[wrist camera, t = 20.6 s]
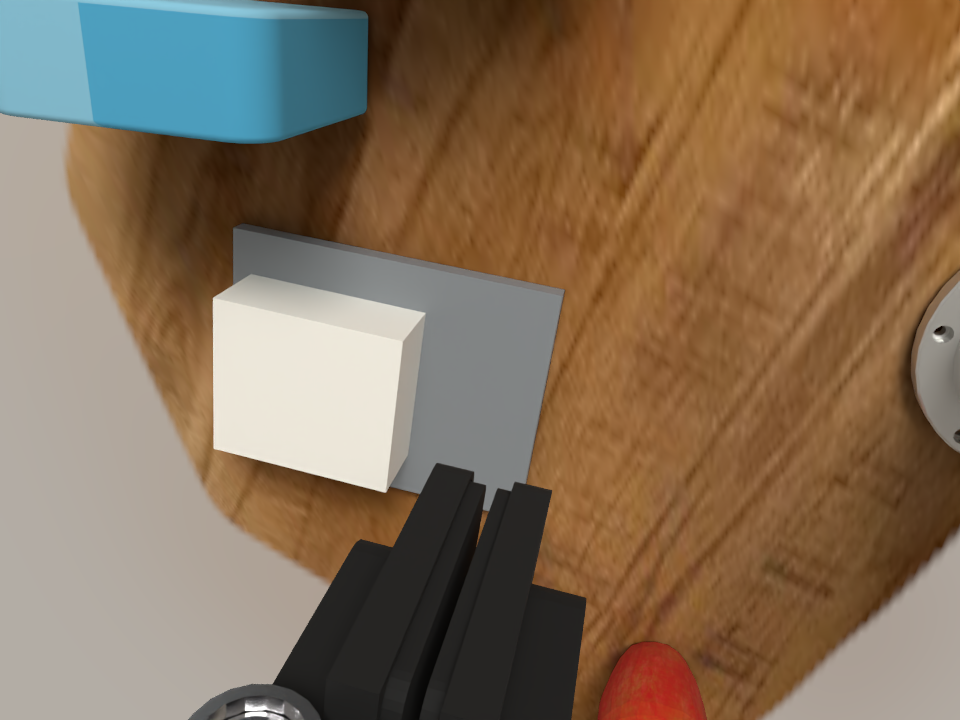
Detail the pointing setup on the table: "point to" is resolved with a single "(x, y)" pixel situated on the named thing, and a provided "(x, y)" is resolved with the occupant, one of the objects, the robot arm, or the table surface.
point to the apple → (651, 686)
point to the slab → (315, 380)
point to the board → (440, 348)
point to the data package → (184, 66)
